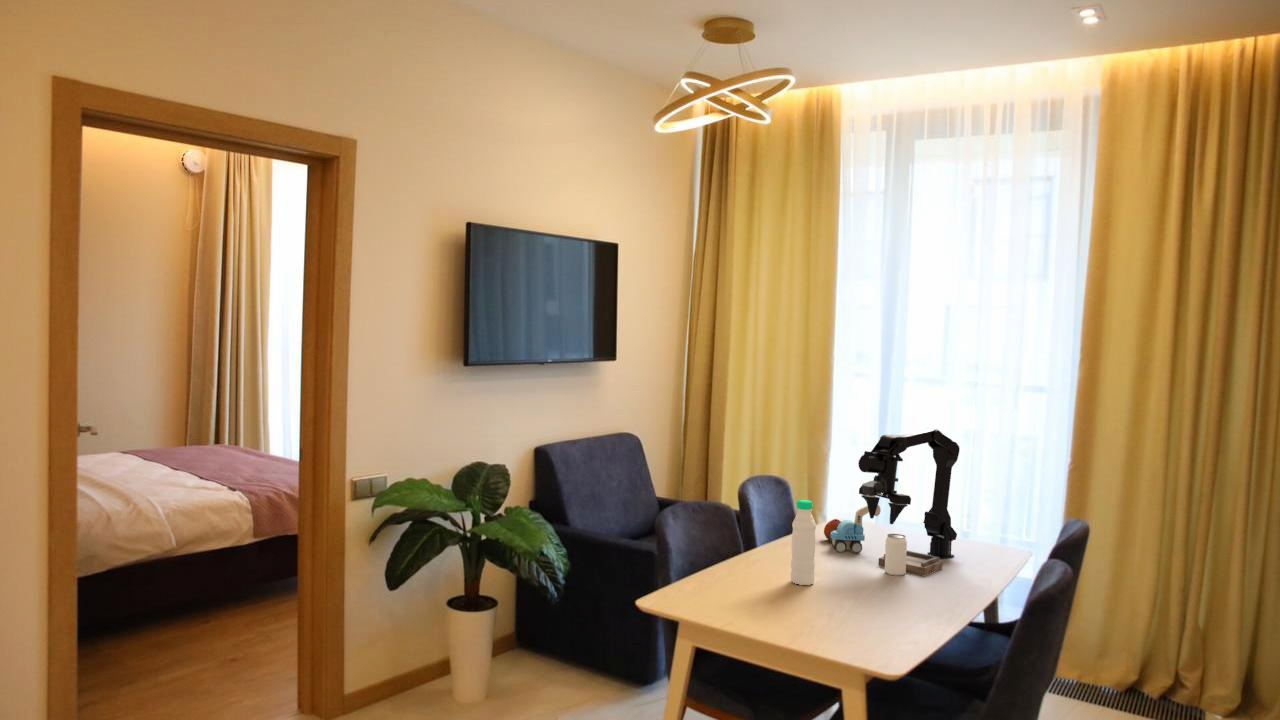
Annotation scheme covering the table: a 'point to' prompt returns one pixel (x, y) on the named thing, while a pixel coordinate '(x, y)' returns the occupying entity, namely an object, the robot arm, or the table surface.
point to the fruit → (831, 528)
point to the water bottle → (803, 545)
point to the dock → (918, 563)
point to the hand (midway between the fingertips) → (881, 521)
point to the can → (895, 554)
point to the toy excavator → (851, 532)
